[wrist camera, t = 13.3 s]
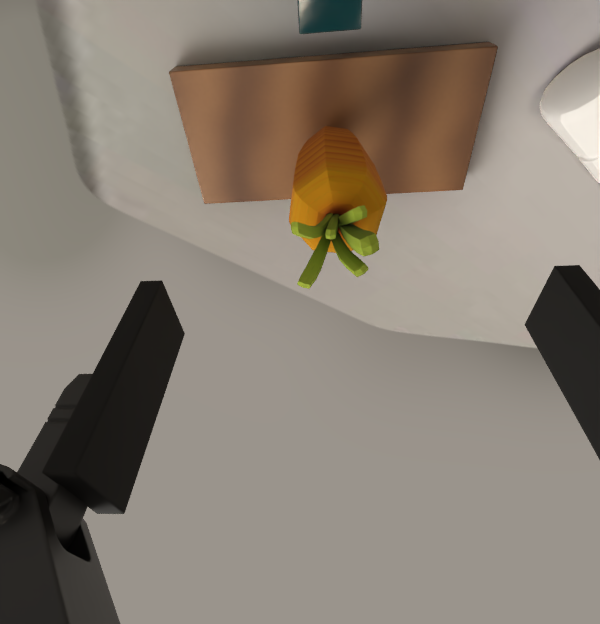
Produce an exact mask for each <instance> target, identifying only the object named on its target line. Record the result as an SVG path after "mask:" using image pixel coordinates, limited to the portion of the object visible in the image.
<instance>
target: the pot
mask: <svg viewBox="0 0 600 624" xmlns="http://www.w3.org/2000/svg"><path fill="white" fill-rule="evenodd" d="M298 16H299V33H300V34H308V33H320V32H333V31H345V30H357V29H361V17H362V0H298Z"/></svg>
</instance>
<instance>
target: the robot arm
mask: <svg viewBox="0 0 600 624" xmlns="http://www.w3.org/2000/svg"><path fill="white" fill-rule="evenodd" d="M525 326H526V328H527V330H528V331H529V333H530V335H531V337H532V339H533V340H534V342H535V344H536V346H537V348H538V349H539V351H540V353H541V355H542V357H543V358H544V360H545V362H546V364H547V366H548V367H549V369H550V371H551V373H552V375H553V376H554V378H555V380H556V382H557V384H558V385H559V387H560V389H561V391H562V392H563V394H564V396H565V398H566V400H567V402H568V403H569V405H570V407H571V409H572V411H573V412H574V414H575V416H576V418H577V420H578V421H579V423H580V425H581V427H582V429H583V430H584V432H585V434H586V436H587V437H588V439H589V441H590V443H591V445H592V447H593V448H594V450H595V452H596V454H597V456H598V458H599V459H600V290H599V288H598V287H597V286H596V285H595V283H594V282H593V281H592V280H591V279H590V277H589V276H588V275H587V274H586V273H585V271H584V270H583V269H582V268H581V267H580V265H573V266H554V268H553V270H552V272H551V274H550V276H549V278H548V280H547V282H546V284H545V286H544V288H543V290H542V292H541V294H540V296H539V298H538V300H537V302H536V304H535V306H534V307H533V309H532V311H531V313H530V315H529V317H528V319H527V321H526V323H525ZM183 337H184V331H183V329H182V326H181V324H180V322H179V319H178V317H177V315H176V312H175V310H174V308H173V305H172V303H171V301H170V299H169V296H168V294H167V291H166V289H165V286H164V284H163V282H162V281H141V282H140V284H139V286H138V288H137V290H136V292H135V294H134V296H133V298H132V299H131V301H130V303H129V305H128V307H127V309H126V311H125V313H124V315H123V317H122V319H121V321H120V323H119V324H118V326H117V328H116V330H115V332H114V334H113V336H112V338H111V340H110V342H109V344H108V346H107V348H106V349H105V351H104V353H103V355H102V357H101V359H100V361H99V363H98V365H97V367H96V369H95V371H94V373H93V374H79V375H78V376H77V377H76V378H75V379H74V380H73V381H72V382H71V383H70V384H69V385H68V386H67V387H66V388H65V389H64V391H63V392H62V394H61V396H60V398H59V400H58V401H57V403H56V407H55V408H54V409H53V410H52V412H51V414H50V416H49V417H48V422H45V424H44V426H43V428H42V429H41V431H40V433H39V435H38V437H37V438H36V440H35V442H34V444H33V446H32V447H31V449H30V451H29V453H28V454H27V456H26V458H25V460H24V461H23V463H22V465H21V467H20V468H19V470H18V472H15V471H14V470H12V469H11V468H9V467H7V466H4V465H1V464H0V624H120V622H119V619H118V616H117V613H116V610H115V607H114V604H113V601H112V598H111V595H110V592H109V589H108V586H107V583H106V580H105V577H104V574H103V571H102V568H101V565H100V562H99V559H98V556H97V553H96V550H95V547H94V544H93V542H92V538H91V535H90V533H89V529H88V527H87V523H86V522H85V521H84V519H83V516H84V514H85V511H86V509H87V506H88V507H89V508H90V509H92V510H93V511H95V512H96V513H97V514H100V513H101V514H124V513H125V510H126V507H127V504H128V501H129V498H130V495H131V492H132V489H133V486H134V483H135V480H136V477H137V474H138V471H139V468H140V465H141V462H142V459H143V456H144V453H145V450H146V447H147V444H148V441H149V438H150V435H151V432H152V429H153V426H154V423H155V420H156V417H157V414H158V411H159V408H160V406H161V403H162V399H163V397H164V394H165V391H166V388H167V384H168V382H169V378H170V376H171V373H172V370H173V367H174V364H175V361H176V358H177V355H178V352H179V349H180V346H181V343H182V340H183Z"/></svg>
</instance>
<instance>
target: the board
mask: <svg viewBox="0 0 600 624" xmlns="http://www.w3.org/2000/svg"><path fill="white" fill-rule="evenodd" d="M497 49H498V46H496V45H494V44H492V43H490V42H483V43H470V44H457V45H444V46H432V47H419V48H406V49H393V50H381V51H368V52H355V53H343V54H330V55H317V56H304V57H292V58H279V59H266V60H254V61H241V62H228V63H215V64H203V65H190V66H177V67H175V68H173V69H172V70H171V71H170V72H169V74H170V78H171V81H172V85H173V89H174V92H175V96H176V100H177V104H178V107H179V111H180V115H181V118H182V122H183V126H184V130H185V133H186V137H187V141H188V145H189V148H190V152H191V156H192V159H193V163H194V167H195V171H196V174H197V178H198V182H199V185H200V189H201V193H202V197H203V200H204V203H205V204H207V203H226V202H245V201H263V200H282V199H291V198H292V189H293V181H294V174H295V167H296V162H297V158H298V154H299V152H300V150H301V149H302V147H303V145H304V144H305V143H306V141H307V140H308V139H310V138H311V137H312V136H313V135H315V134H316V133H317V132H318V131H320V130H321V129H322V128H323V127H325V126H330V127H337V128H344V129H348V130H350V131H351V132H352V133H353V134H354V135H355V136H356V138H357V139H358V140H359V142H360V143H361V145H362V146H363V148H364V150H365V151H366V153H367V154H368V156H369V157H370V159H371V160H372V162H373V164H374V165H375V167H376V170H377V172H378V174H379V176H380V179H381V181H382V184H383V187H384V190H385V192H386V194H393V193H411V192H430V191H449V190H463V186H464V182H465V178H466V174H467V170H468V166H469V162H470V158H471V154H472V150H473V146H474V142H475V138H476V134H477V130H478V125H479V121H480V117H481V113H482V109H483V105H484V101H485V97H486V93H487V89H488V85H489V81H490V77H491V73H492V69H493V65H494V61H495V57H496V53H497Z"/></svg>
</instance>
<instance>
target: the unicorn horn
mask: <svg viewBox="0 0 600 624" xmlns="http://www.w3.org/2000/svg"><path fill="white" fill-rule="evenodd" d="M540 111H541V115H542V116H543V118H544V119H545V121H546V122H547V123H548V125H549V126H550V127H551V128H552V129H553V130H554V131H555V132H556V134H557V135H558V136H559V137H560V138H561V139H562V140H563V141H564V143H565V144H566V145H567V146H568V147H569V148H570V149H571V150H572V152H573V153H574V154H575V155H577V156H578V159H579V160H580V161H581V162H582V164H583V165H584V166H585V167H586V169H587V170H588V171H589V172H590V173H591V175H592V176H593V177H594V178H595V180H596V181H597V182H598V183H600V48H599V49H597V50H594V51H592V52H590V53H587V54H585V55H584V56H582V57H581V58H579V59H577V60H576V61H574V62H573V63H571V64H570V65H568V66H567V67H566V68H565V69H564V70H563V71H561V72H560V73H559V74H558V75H557V76H556V77H555V78H554V79H553V80H552V81H551V83H550V84H549V85H548V86H547V88H546V89H545V91H544V93H543V96H542V99H541V102H540Z"/></svg>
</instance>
